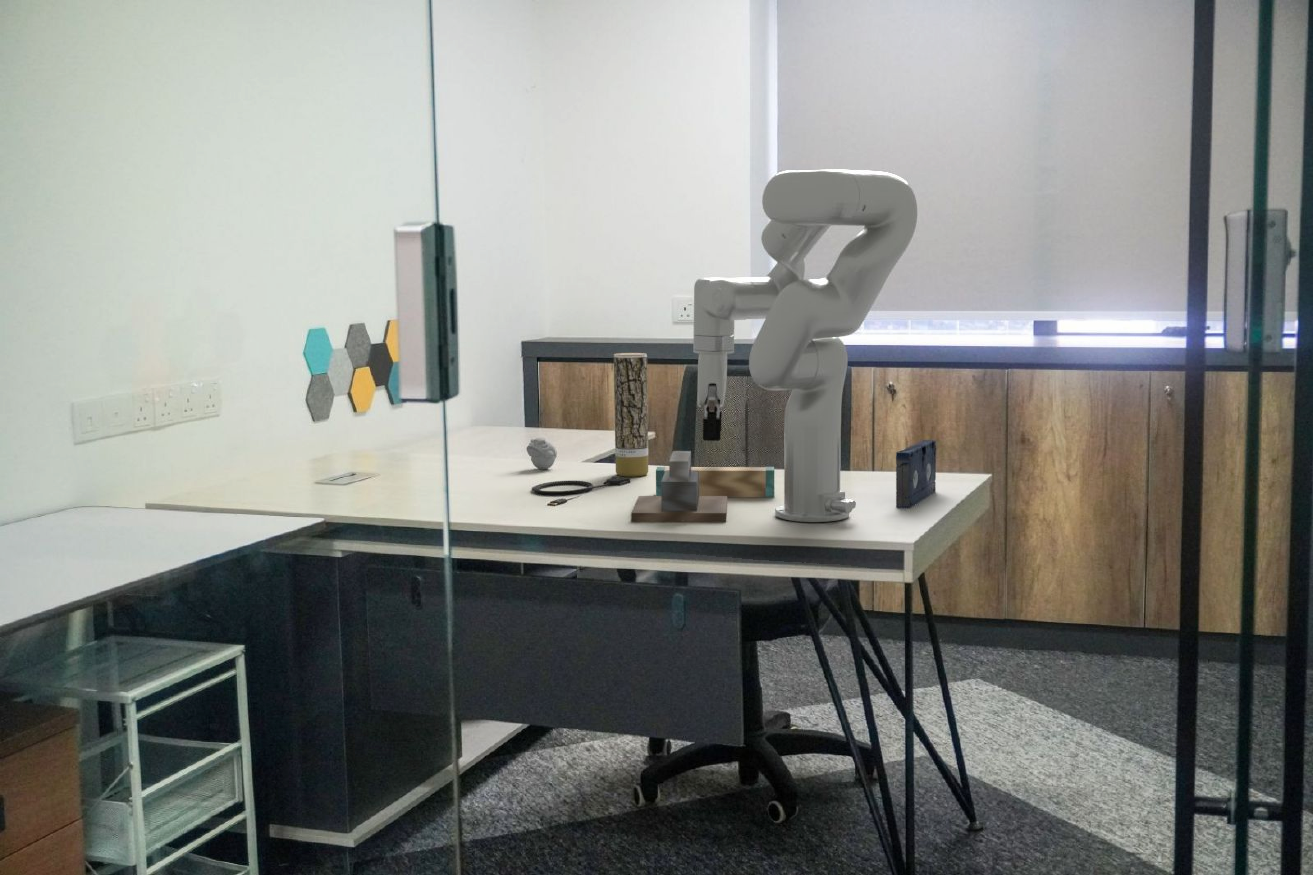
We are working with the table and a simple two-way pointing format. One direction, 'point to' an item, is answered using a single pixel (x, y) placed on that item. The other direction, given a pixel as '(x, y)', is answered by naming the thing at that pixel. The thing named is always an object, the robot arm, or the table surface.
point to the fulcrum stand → (680, 497)
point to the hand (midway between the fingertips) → (712, 436)
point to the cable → (609, 482)
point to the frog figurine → (542, 453)
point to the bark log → (631, 414)
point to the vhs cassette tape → (915, 473)
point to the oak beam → (730, 481)
